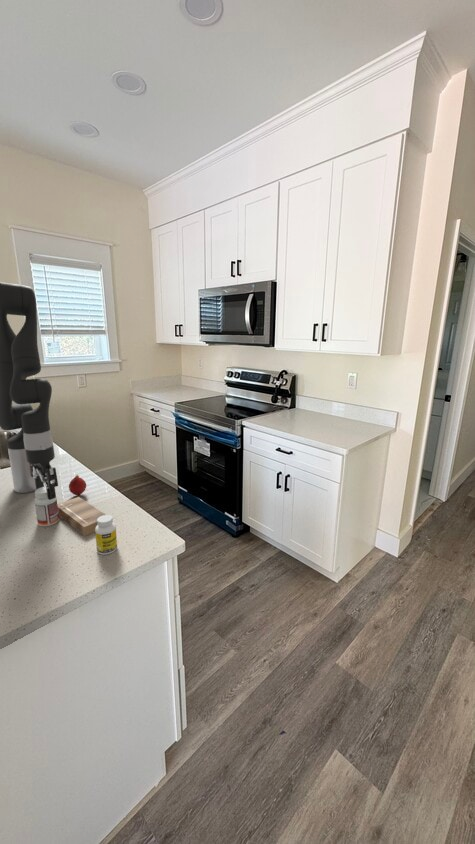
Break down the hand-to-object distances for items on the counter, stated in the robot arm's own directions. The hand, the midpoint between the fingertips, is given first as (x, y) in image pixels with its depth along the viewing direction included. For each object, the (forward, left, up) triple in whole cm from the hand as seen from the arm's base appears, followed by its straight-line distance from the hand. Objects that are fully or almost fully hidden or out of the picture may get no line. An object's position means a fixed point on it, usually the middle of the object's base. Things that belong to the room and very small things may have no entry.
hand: (46, 494), depth 110 cm
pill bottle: (0, 0, -10) cm, 10 cm away
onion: (-11, +15, -10) cm, 21 cm away
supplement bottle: (+27, +5, -10) cm, 29 cm away
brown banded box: (+6, +8, -10) cm, 14 cm away
